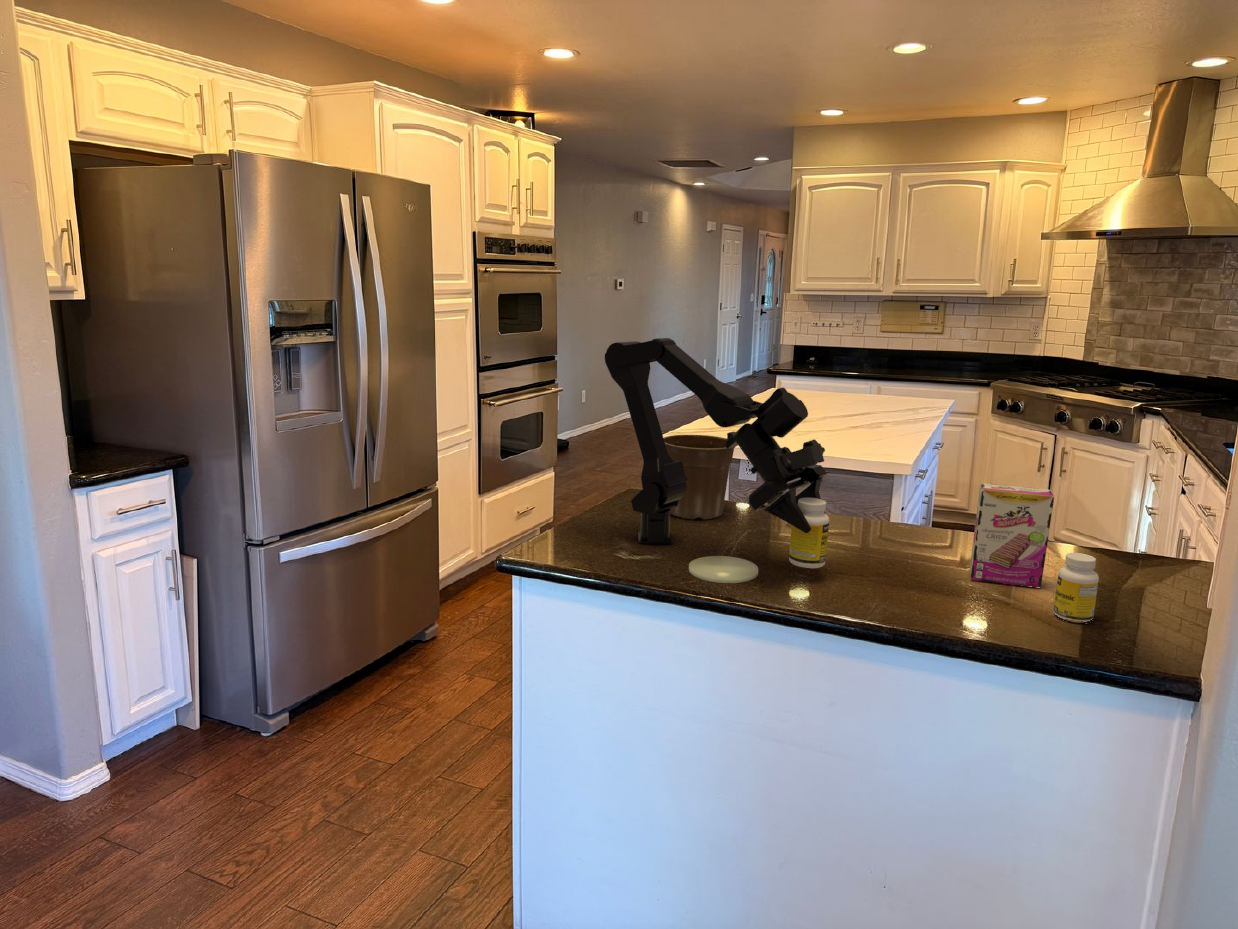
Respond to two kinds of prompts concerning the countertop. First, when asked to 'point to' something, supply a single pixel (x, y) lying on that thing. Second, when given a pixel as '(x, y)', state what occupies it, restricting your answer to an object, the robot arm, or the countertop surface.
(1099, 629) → the countertop surface
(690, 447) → the plant pot
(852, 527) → the countertop surface
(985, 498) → the candy bar box
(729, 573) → the disc
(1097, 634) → the countertop surface
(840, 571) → the countertop surface
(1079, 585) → the supplement bottle
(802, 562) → the pill bottle
